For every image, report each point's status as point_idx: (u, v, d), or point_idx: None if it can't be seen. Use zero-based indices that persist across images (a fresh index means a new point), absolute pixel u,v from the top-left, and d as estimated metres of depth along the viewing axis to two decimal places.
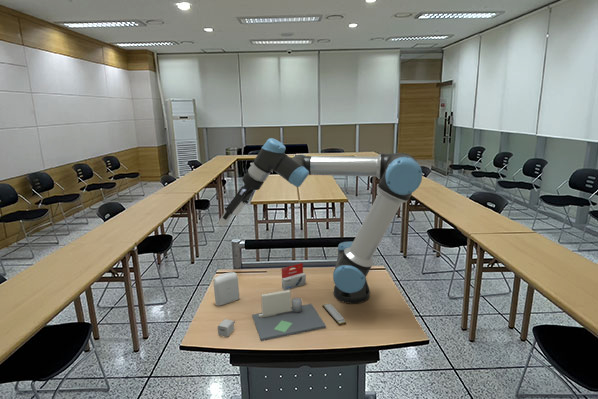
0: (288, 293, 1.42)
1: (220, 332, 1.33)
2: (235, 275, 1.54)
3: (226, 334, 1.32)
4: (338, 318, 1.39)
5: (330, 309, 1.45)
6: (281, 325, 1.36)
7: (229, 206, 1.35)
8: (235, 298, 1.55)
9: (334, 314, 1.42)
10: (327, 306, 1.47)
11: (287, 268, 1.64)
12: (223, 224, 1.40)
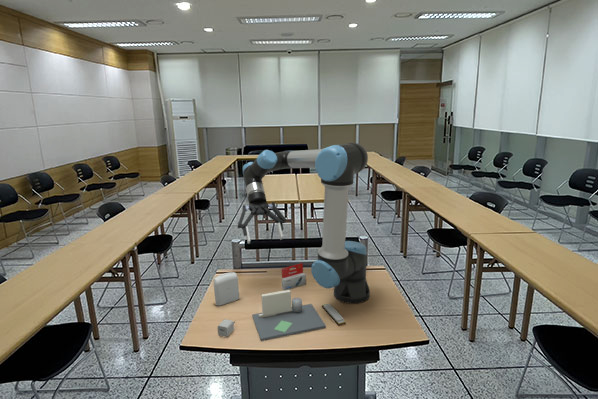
0: (288, 293, 1.42)
1: (220, 332, 1.33)
2: (235, 275, 1.54)
3: (226, 334, 1.32)
4: (337, 318, 1.39)
5: (329, 309, 1.45)
6: (281, 325, 1.36)
7: None
8: (235, 298, 1.55)
9: (333, 314, 1.42)
10: (326, 306, 1.47)
11: (287, 268, 1.64)
12: (248, 239, 1.49)
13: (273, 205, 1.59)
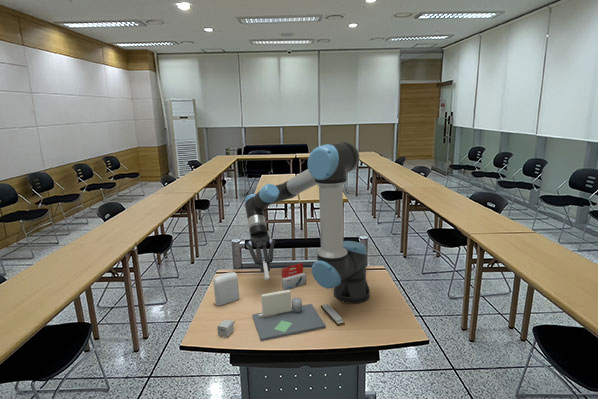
0: (288, 293, 1.42)
1: (220, 332, 1.33)
2: (235, 275, 1.54)
3: (226, 334, 1.32)
4: (336, 318, 1.39)
5: (328, 309, 1.45)
6: (281, 325, 1.36)
7: None
8: (235, 298, 1.55)
9: (332, 314, 1.42)
10: (325, 306, 1.47)
11: (287, 268, 1.64)
12: (265, 276, 1.52)
13: (272, 242, 1.60)
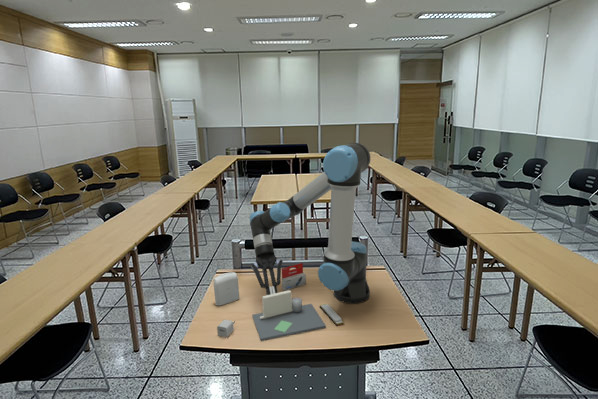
0: (289, 293, 1.42)
1: (219, 332, 1.32)
2: (235, 275, 1.54)
3: (226, 334, 1.32)
4: (335, 318, 1.39)
5: (327, 309, 1.45)
6: (281, 325, 1.36)
7: (259, 283, 1.47)
8: (235, 298, 1.55)
9: (331, 314, 1.42)
10: (324, 307, 1.47)
11: (287, 268, 1.64)
12: None
13: (279, 263, 1.51)
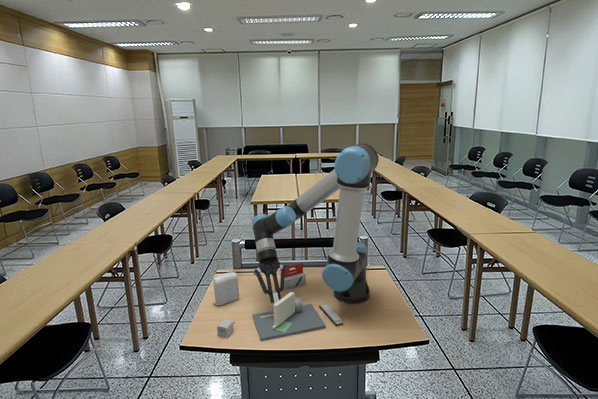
0: (293, 295, 1.41)
1: (219, 332, 1.32)
2: (235, 275, 1.54)
3: (226, 335, 1.32)
4: (335, 319, 1.39)
5: (327, 310, 1.45)
6: (281, 325, 1.36)
7: (262, 289, 1.42)
8: (235, 298, 1.55)
9: (331, 315, 1.42)
10: (324, 307, 1.47)
11: (287, 268, 1.64)
12: None
13: (283, 268, 1.46)
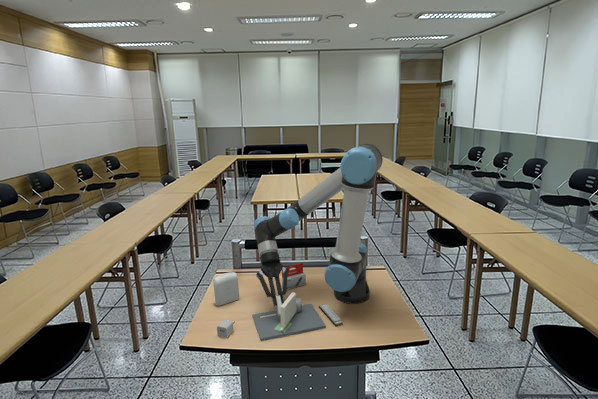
0: (295, 295, 1.40)
1: (219, 333, 1.32)
2: (235, 275, 1.54)
3: (225, 335, 1.32)
4: (335, 319, 1.39)
5: (326, 310, 1.45)
6: None
7: (265, 292, 1.40)
8: (235, 298, 1.55)
9: (330, 315, 1.41)
10: (323, 307, 1.47)
11: None
12: (278, 311, 1.36)
13: (286, 271, 1.44)
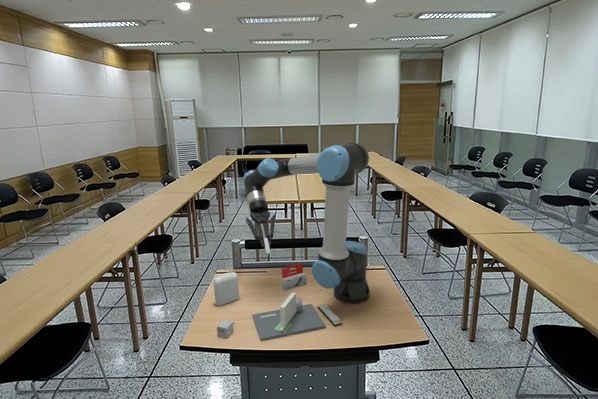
0: (295, 295, 1.40)
1: (219, 333, 1.32)
2: (235, 275, 1.54)
3: (225, 335, 1.31)
4: (333, 319, 1.39)
5: (325, 310, 1.45)
6: None
7: (254, 235, 1.53)
8: (235, 298, 1.55)
9: (329, 315, 1.41)
10: (322, 307, 1.47)
11: (287, 268, 1.64)
12: (266, 251, 1.49)
13: (273, 217, 1.57)
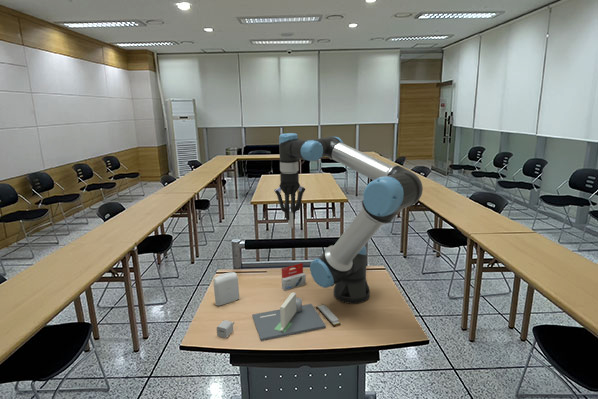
0: (295, 295, 1.40)
1: (219, 333, 1.32)
2: (235, 275, 1.54)
3: (225, 335, 1.31)
4: (332, 319, 1.39)
5: (324, 310, 1.45)
6: None
7: None
8: (235, 298, 1.55)
9: (328, 315, 1.41)
10: (321, 307, 1.47)
11: (287, 268, 1.64)
12: (289, 225, 1.57)
13: (302, 191, 1.55)
